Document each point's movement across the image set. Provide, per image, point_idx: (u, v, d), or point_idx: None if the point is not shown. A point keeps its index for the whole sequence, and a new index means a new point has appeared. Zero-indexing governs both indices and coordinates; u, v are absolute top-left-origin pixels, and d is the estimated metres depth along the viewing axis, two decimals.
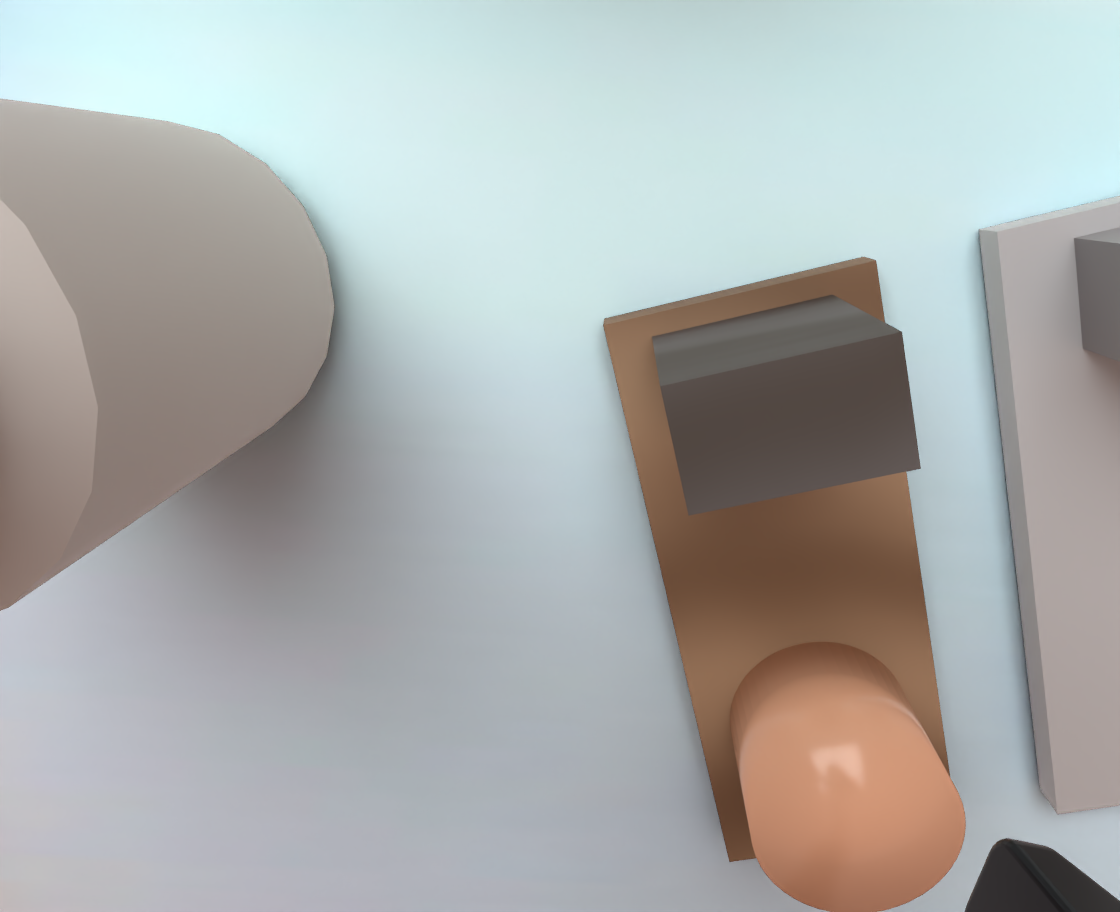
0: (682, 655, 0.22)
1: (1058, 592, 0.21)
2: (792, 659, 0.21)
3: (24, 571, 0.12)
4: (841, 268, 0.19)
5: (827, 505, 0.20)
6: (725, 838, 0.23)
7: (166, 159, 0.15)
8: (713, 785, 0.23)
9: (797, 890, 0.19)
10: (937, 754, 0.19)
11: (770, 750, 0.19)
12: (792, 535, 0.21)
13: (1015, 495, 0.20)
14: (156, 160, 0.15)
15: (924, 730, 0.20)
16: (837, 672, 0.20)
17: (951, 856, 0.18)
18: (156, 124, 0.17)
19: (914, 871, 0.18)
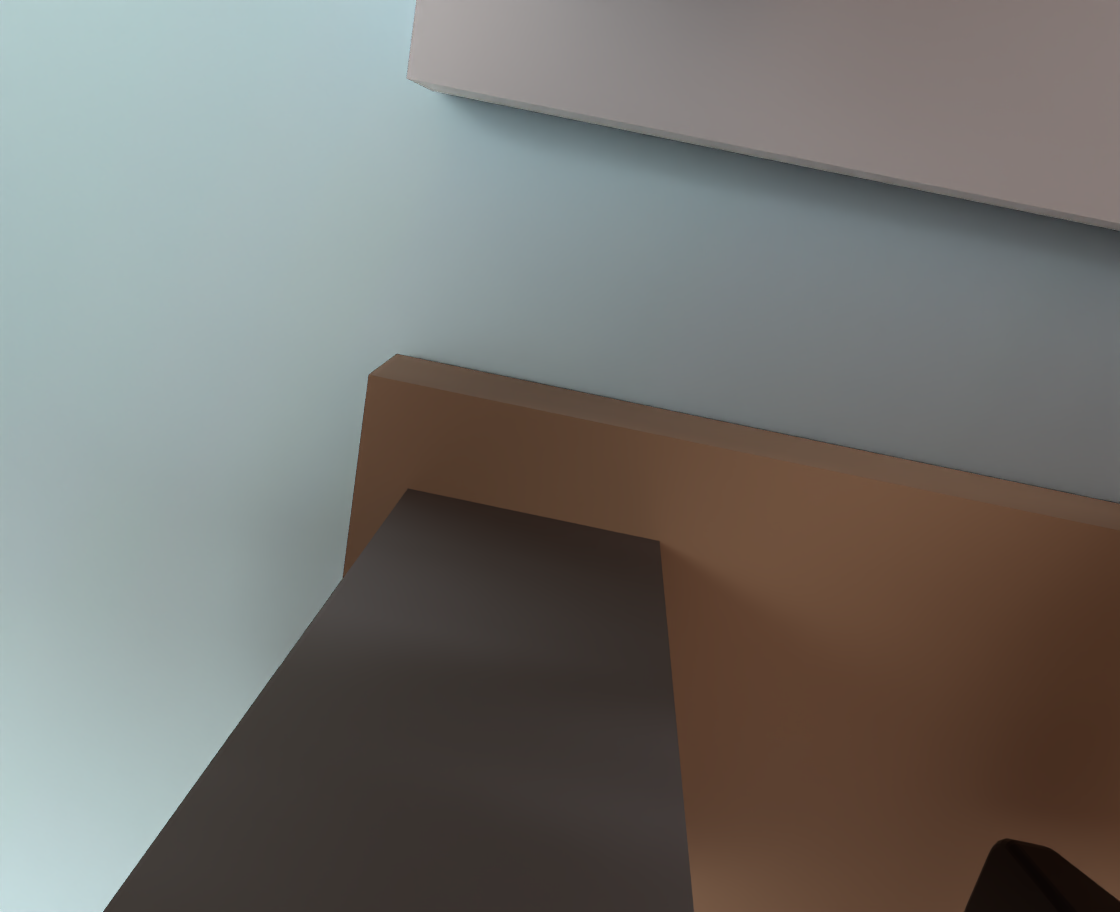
0: None
1: None
2: None
3: None
4: (362, 446, 0.08)
5: (887, 673, 0.08)
6: None
7: None
8: None
9: None
10: None
11: None
12: (917, 764, 0.09)
13: None
14: None
15: None
16: None
17: None
18: None
19: None
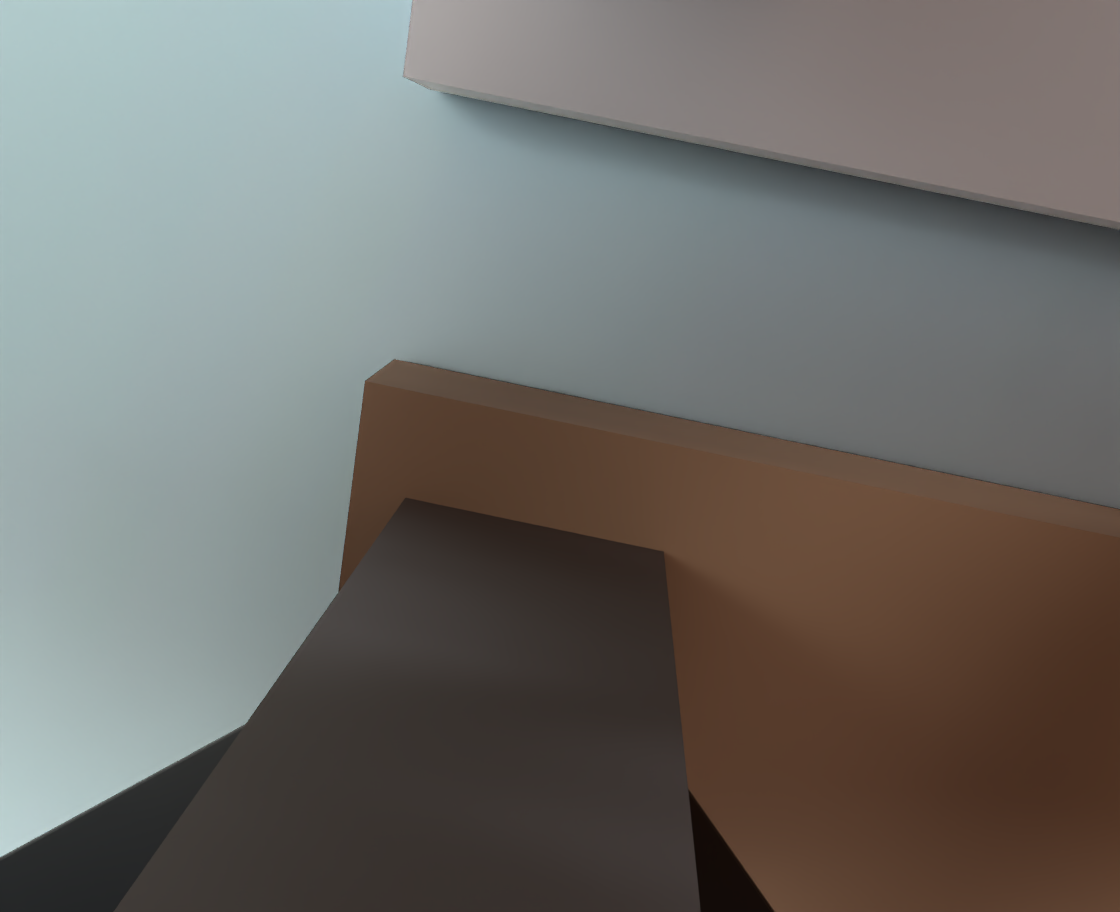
0: None
1: None
2: None
3: None
4: (358, 454, 0.08)
5: (897, 687, 0.08)
6: None
7: None
8: None
9: None
10: None
11: None
12: (927, 779, 0.08)
13: None
14: None
15: None
16: None
17: None
18: None
19: None
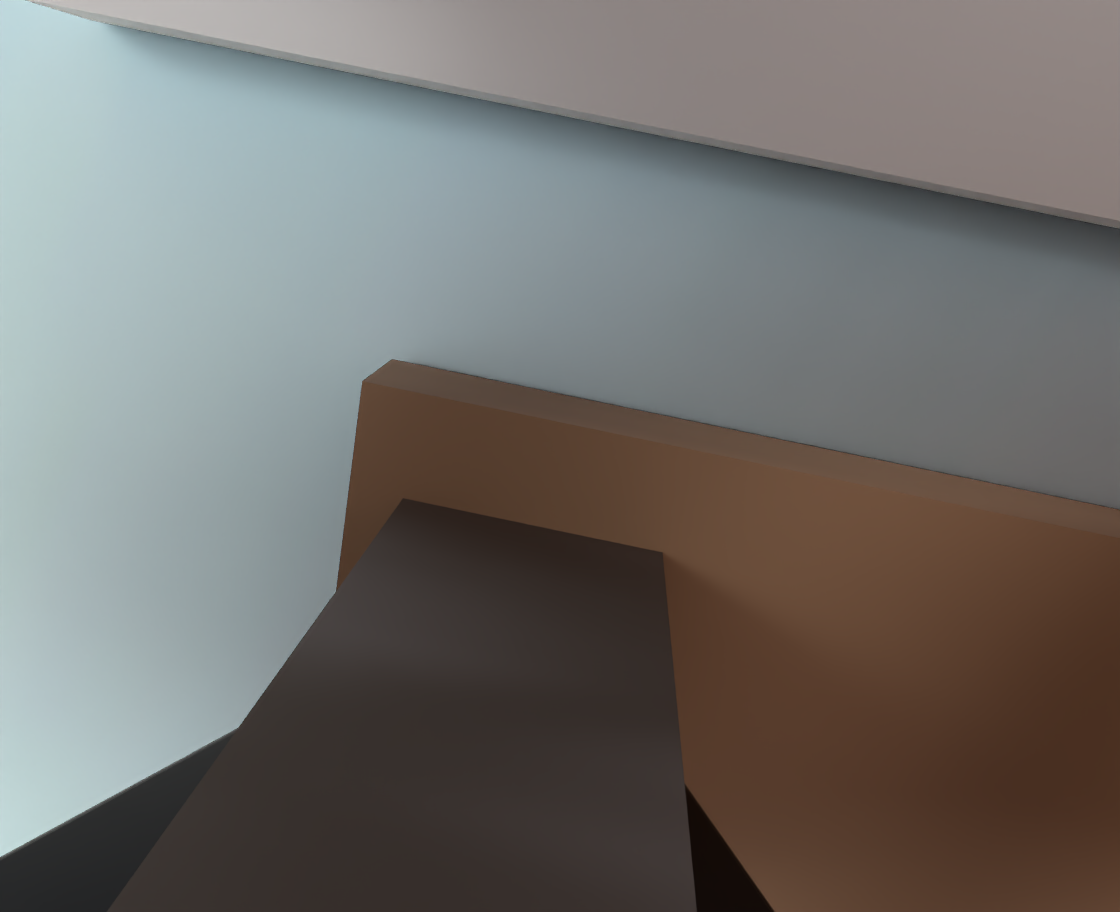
0: None
1: None
2: None
3: None
4: (355, 455, 0.08)
5: (897, 689, 0.08)
6: None
7: None
8: None
9: None
10: None
11: None
12: (927, 781, 0.08)
13: (781, 156, 0.07)
14: None
15: None
16: None
17: None
18: None
19: None
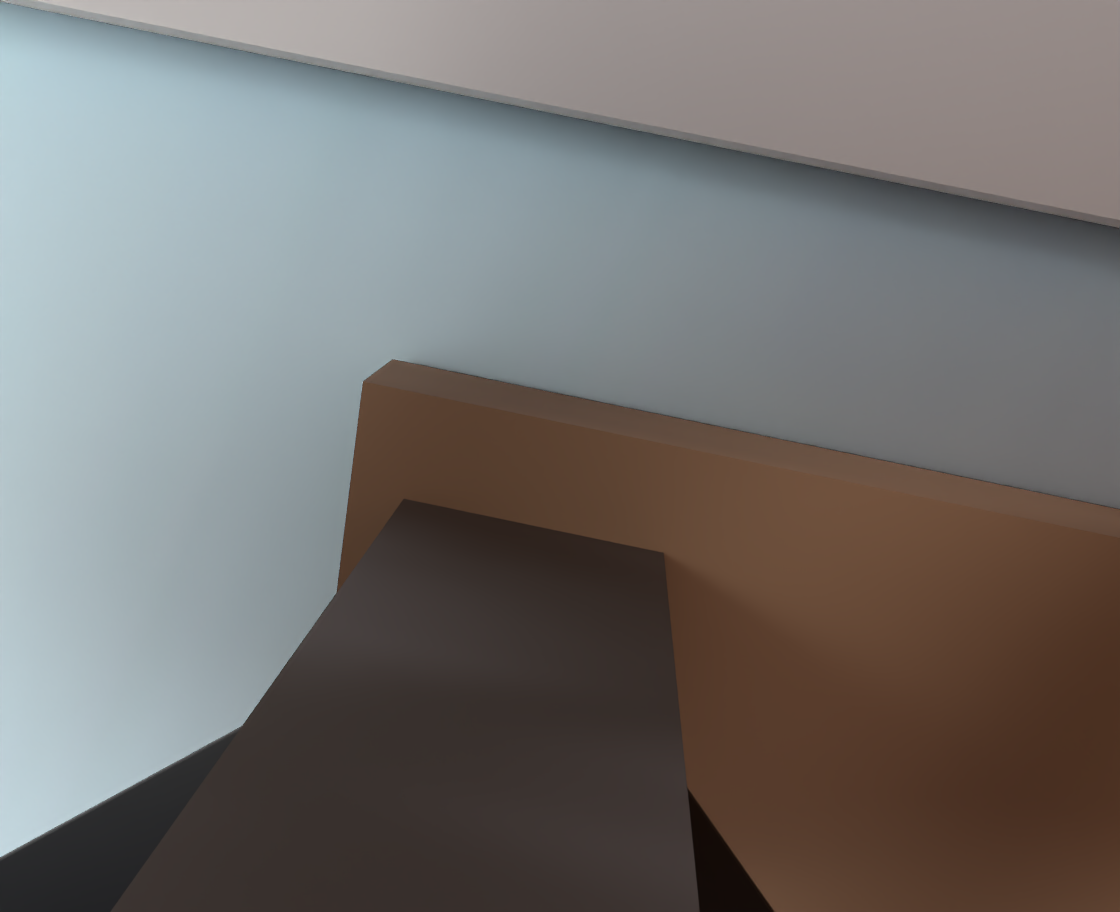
0: None
1: (629, 44, 0.07)
2: None
3: None
4: (356, 456, 0.08)
5: (899, 689, 0.08)
6: None
7: None
8: None
9: None
10: None
11: None
12: (929, 782, 0.08)
13: (334, 65, 0.07)
14: None
15: None
16: None
17: None
18: None
19: None
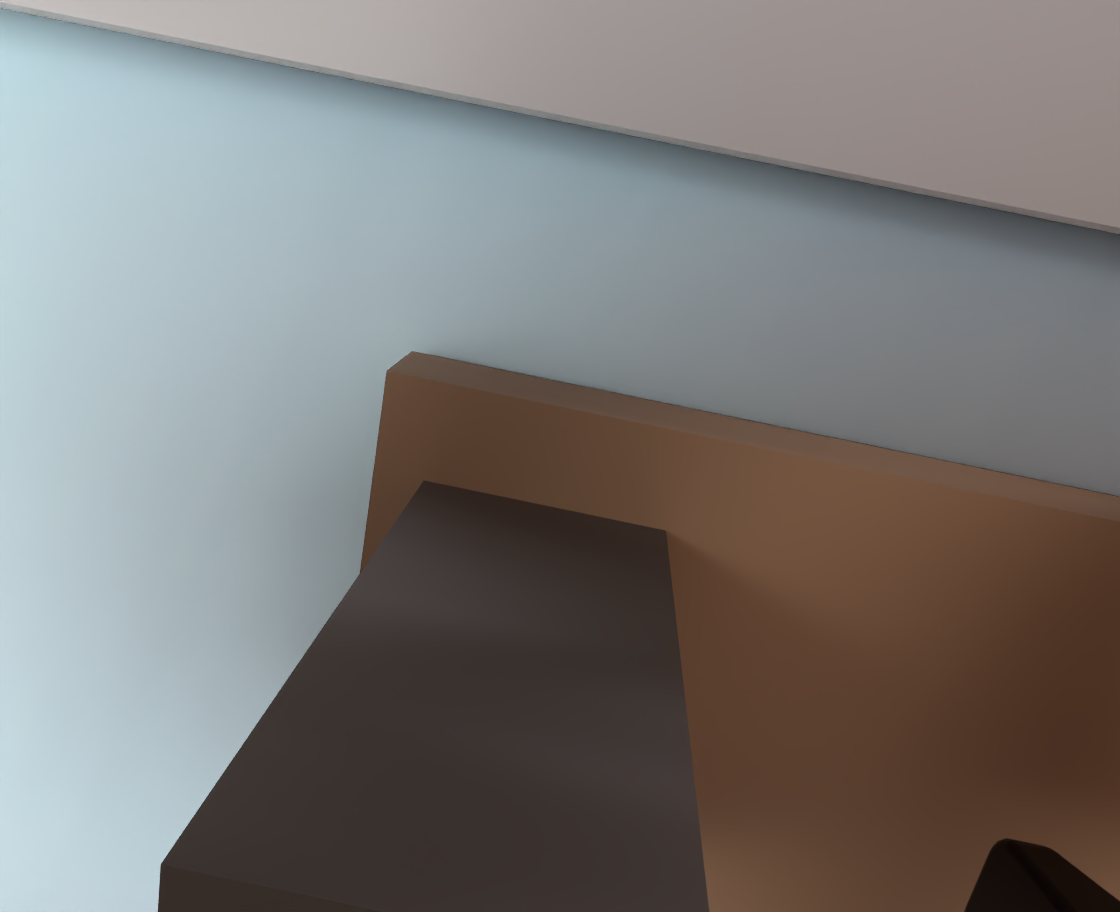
0: None
1: (630, 59, 0.07)
2: None
3: None
4: (379, 440, 0.08)
5: (885, 658, 0.09)
6: None
7: None
8: None
9: None
10: None
11: None
12: (913, 746, 0.09)
13: (357, 77, 0.08)
14: None
15: None
16: None
17: None
18: None
19: None
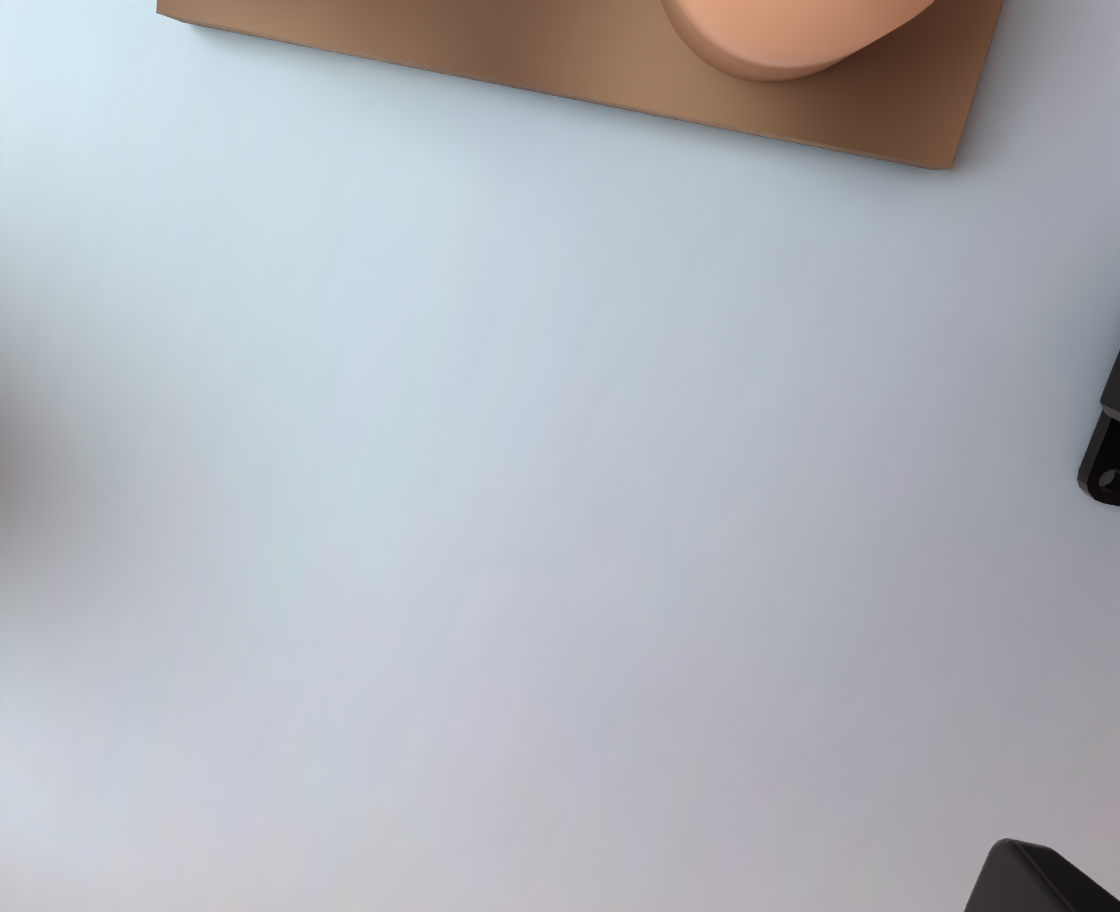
0: (607, 99, 0.16)
1: None
2: None
3: None
4: None
5: None
6: (909, 158, 0.16)
7: None
8: (817, 139, 0.16)
9: (899, 7, 0.12)
10: None
11: None
12: None
13: None
14: None
15: None
16: None
17: None
18: None
19: None
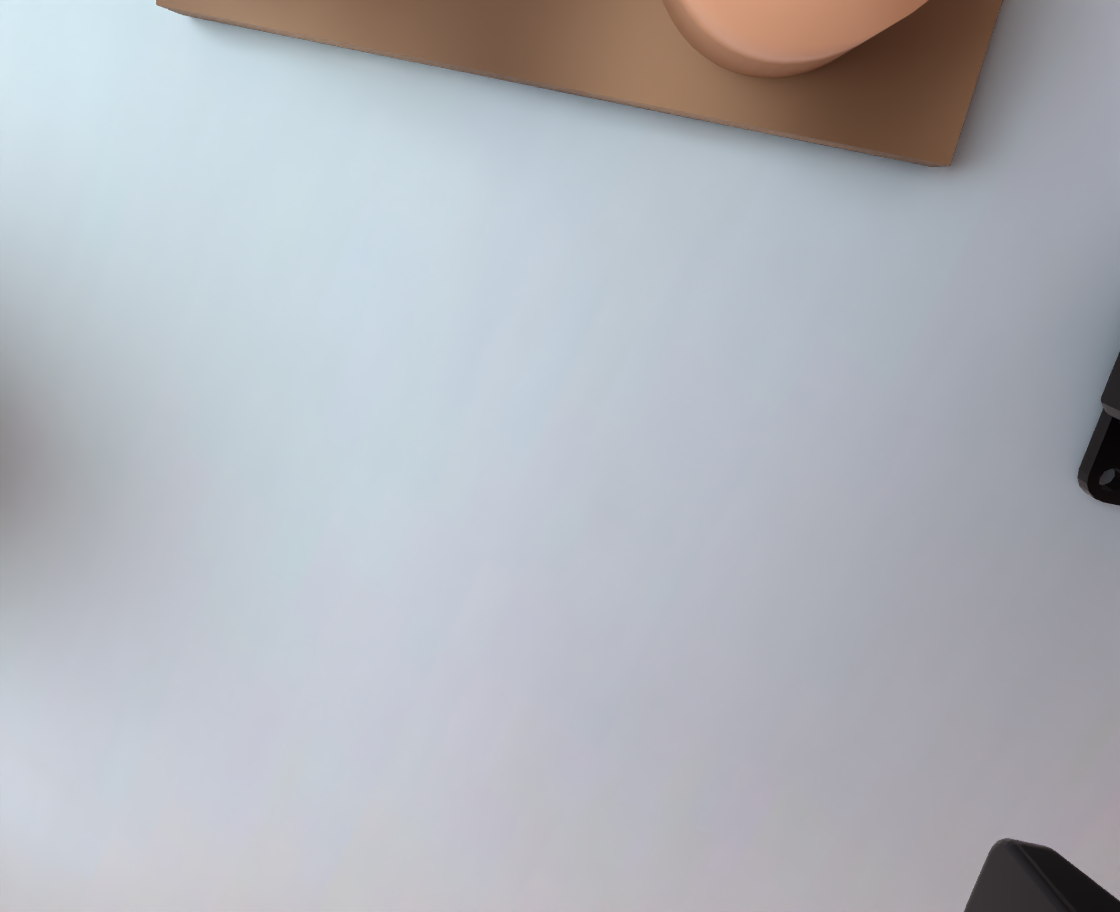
0: (607, 94, 0.16)
1: None
2: None
3: None
4: None
5: None
6: (908, 154, 0.16)
7: None
8: (816, 135, 0.16)
9: (898, 1, 0.12)
10: None
11: None
12: None
13: None
14: None
15: None
16: None
17: None
18: None
19: None
